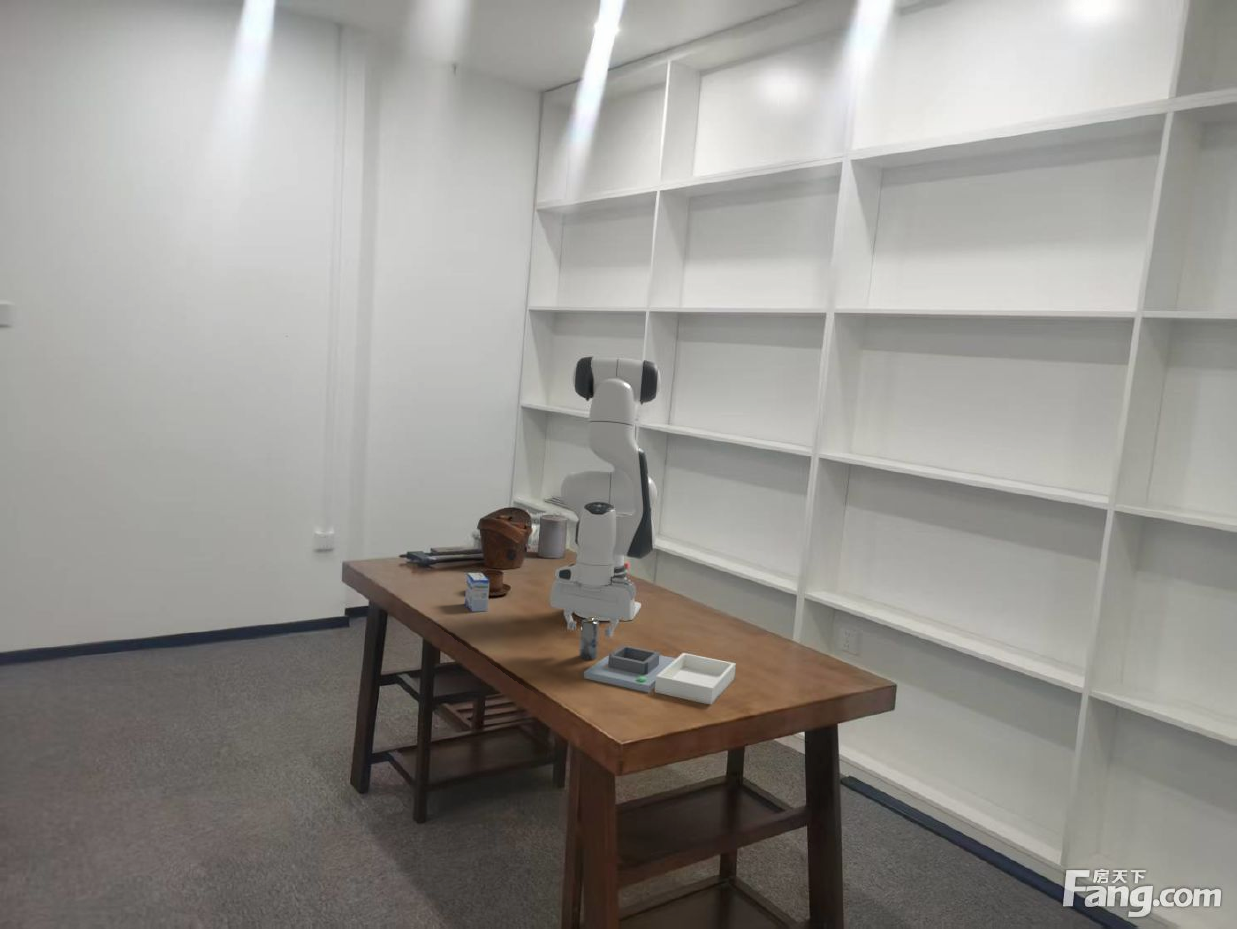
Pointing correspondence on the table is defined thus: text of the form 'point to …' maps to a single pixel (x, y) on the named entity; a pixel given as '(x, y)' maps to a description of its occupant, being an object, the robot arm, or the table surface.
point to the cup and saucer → (495, 582)
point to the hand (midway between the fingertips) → (590, 632)
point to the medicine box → (477, 592)
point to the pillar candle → (552, 536)
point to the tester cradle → (629, 668)
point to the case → (505, 537)
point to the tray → (695, 678)
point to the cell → (589, 639)
